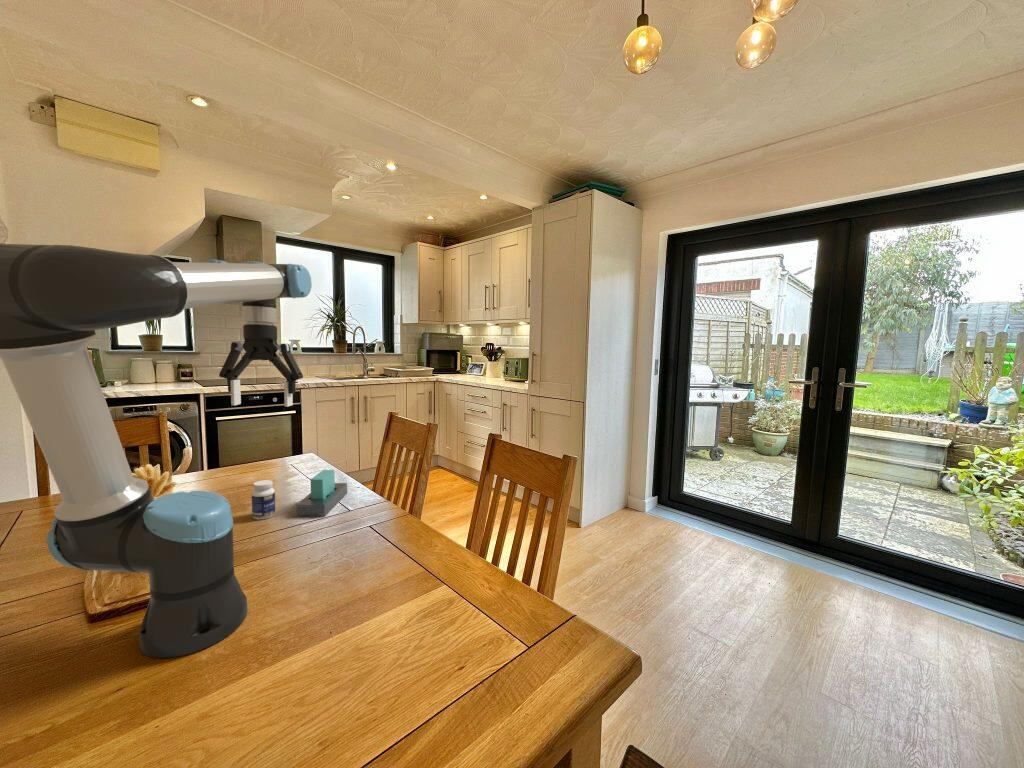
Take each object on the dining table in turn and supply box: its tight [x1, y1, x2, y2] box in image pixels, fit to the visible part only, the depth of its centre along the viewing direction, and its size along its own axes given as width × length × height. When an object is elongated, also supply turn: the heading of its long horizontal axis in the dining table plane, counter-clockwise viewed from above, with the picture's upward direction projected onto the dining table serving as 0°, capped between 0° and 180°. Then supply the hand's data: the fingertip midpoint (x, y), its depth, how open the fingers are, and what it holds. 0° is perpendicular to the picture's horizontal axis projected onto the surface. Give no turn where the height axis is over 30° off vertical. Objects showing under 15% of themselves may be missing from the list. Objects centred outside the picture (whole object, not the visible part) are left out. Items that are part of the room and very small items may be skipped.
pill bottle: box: [251, 479, 276, 520], centre depth 116 cm, size 6×6×10 cm
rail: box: [295, 482, 348, 518], centre depth 126 cm, size 18×8×4 cm, turn 2°
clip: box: [310, 469, 336, 499], centre depth 126 cm, size 9×4×9 cm, turn 2°
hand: (262, 405), depth 107 cm, fingers open, 13 cm apart
